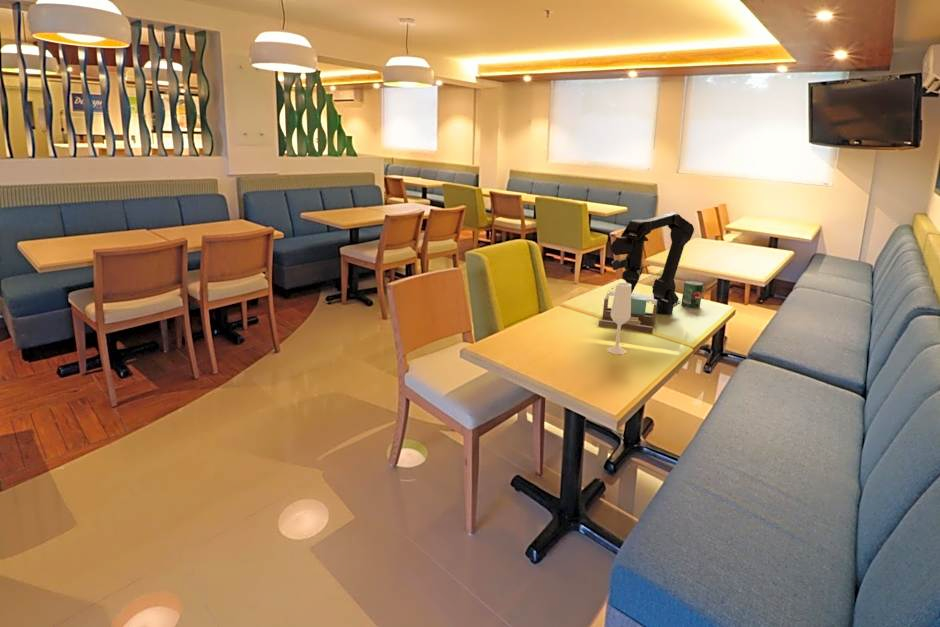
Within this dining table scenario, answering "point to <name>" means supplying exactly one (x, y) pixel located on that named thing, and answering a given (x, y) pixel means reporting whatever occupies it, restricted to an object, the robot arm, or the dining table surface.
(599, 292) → the dining table surface
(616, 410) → the dining table surface
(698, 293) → the canned tomato
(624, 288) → the champagne flute
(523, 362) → the dining table surface
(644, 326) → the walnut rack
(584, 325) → the dining table surface
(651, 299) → the baseboard molding
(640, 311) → the teal sheet
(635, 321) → the upper offcut
